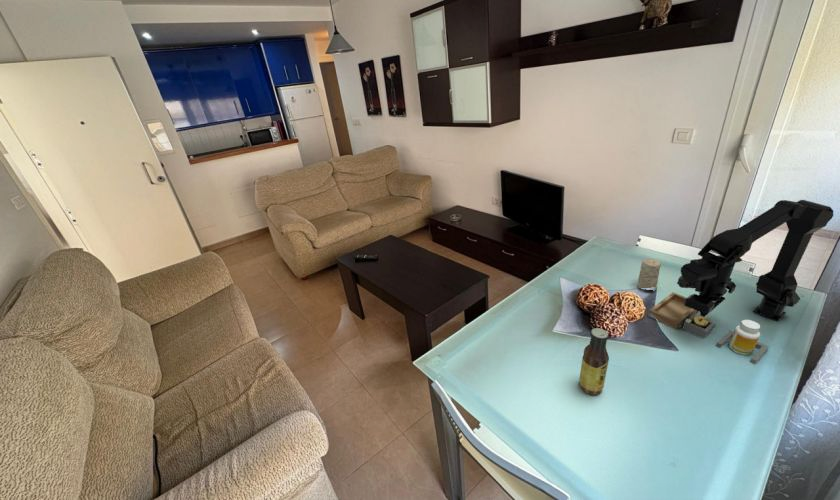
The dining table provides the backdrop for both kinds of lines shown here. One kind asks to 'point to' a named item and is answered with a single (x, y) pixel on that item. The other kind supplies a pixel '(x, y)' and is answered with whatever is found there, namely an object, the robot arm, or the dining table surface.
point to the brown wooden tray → (672, 311)
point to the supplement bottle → (745, 337)
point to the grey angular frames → (710, 326)
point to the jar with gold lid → (700, 321)
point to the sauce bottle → (594, 363)
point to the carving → (649, 273)
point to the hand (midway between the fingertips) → (702, 315)
